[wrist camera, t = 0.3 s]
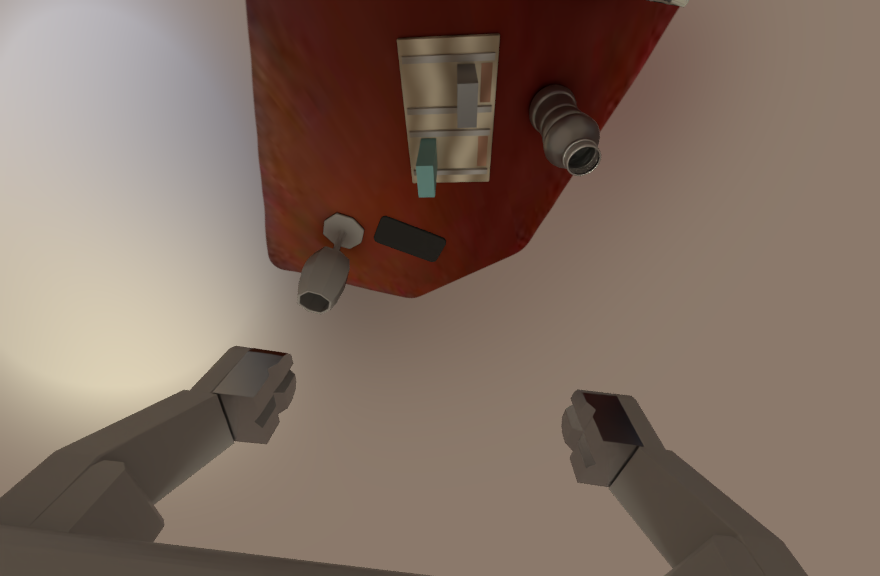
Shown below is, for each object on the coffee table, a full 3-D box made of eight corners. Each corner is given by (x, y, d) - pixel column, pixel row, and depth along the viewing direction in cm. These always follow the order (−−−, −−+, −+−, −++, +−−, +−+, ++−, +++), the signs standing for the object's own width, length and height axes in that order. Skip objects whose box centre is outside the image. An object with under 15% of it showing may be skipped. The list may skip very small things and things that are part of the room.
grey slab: (457, 103, 48) (457, 128, 41) (457, 64, 45) (457, 84, 38) (473, 103, 48) (476, 127, 41) (474, 63, 44) (478, 83, 38)
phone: (382, 215, 65) (447, 240, 69) (382, 212, 66) (448, 238, 70) (372, 241, 70) (434, 263, 74) (373, 238, 70) (434, 261, 74)
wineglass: (317, 231, 69) (280, 304, 55) (334, 205, 64) (298, 277, 50) (352, 251, 73) (327, 324, 58) (371, 228, 68) (349, 301, 53)
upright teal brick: (423, 167, 56) (418, 197, 49) (420, 138, 52) (415, 166, 45) (437, 167, 56) (434, 197, 49) (436, 138, 52) (433, 165, 45)
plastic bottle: (570, 119, 51) (613, 179, 37) (528, 131, 52) (553, 193, 39) (571, 74, 46) (619, 123, 33) (524, 88, 48) (552, 141, 34)
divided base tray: (413, 179, 59) (412, 185, 58) (398, 38, 44) (396, 41, 43) (488, 177, 59) (489, 183, 57) (498, 33, 43) (500, 36, 42)
